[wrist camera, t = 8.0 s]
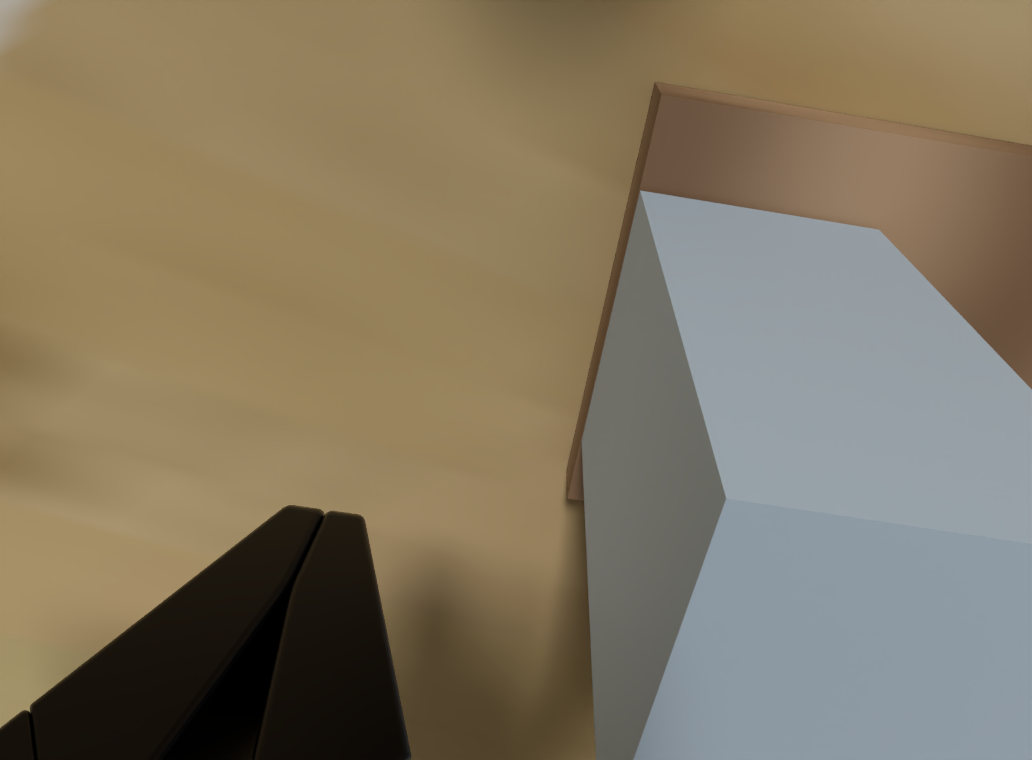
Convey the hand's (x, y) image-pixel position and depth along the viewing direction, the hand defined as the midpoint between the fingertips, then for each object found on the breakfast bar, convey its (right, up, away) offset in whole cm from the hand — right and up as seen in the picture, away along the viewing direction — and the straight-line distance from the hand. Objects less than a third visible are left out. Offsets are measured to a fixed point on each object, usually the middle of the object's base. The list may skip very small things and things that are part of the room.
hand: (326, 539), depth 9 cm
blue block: (+6, +2, +6) cm, 8 cm away
